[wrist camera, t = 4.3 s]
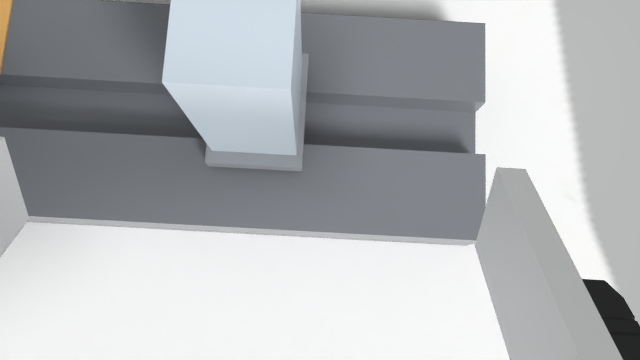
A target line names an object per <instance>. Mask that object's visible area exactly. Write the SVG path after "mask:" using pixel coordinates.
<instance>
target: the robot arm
mask: <svg viewBox="0 0 640 360" xmlns="http://www.w3.org/2000/svg"><path fill="white" fill-rule="evenodd" d="M28 219H29V216H28V213H27V210H26V206H25V203H24V200H23V197H22V193H21V190H20V187H19V184H18V180H17V177H16V174H15V170H14V167H13V164H12V161H11V157H10V154H9V151H8V148H7V144H6V141H5V138H4V137H0V257H1V256H2V254H3V253H4V252H5V250H6V249H7V248H8V246H9V245H10V244H11V242H12V241H13V240H14V238H15V237H16V236H17V234H18V233H19V232H20V230H21V229H22V228H23V226H24V225H25V224H26V222H27V221H28ZM475 248H476V251H477V254H478V257H479V261H480V264H481V267H482V270H483V274H484V277H485V280H486V283H487V287H488V290H489V293H490V296H491V299H492V303H493V306H494V309H495V312H496V316H497V319H498V322H499V325H500V329H501V332H502V335H503V338H504V341H505V345H506V348H507V351H508V354H509V358H510V360H640V326H639V324H638V322H637V321H635V320H634V318H635V317H634V315H633V314H632V312H631V310H630V308H629V307H628V305H627V303H626V302H625V300H624V298H623V297H622V296H621V295H620V294H619V293H618V292H617V291H615V290H614V289H613V288H612V287H611V286H610V285H609V284H608V283H607V282H606V281H604V280H588V279H581V277H580V275H579V273H578V271H577V269H576V267H575V265H574V263H573V261H572V259H571V257H570V255H569V253H568V251H567V249H566V248H565V246H564V244H563V242H562V240H561V238H560V236H559V234H558V232H557V230H556V228H555V226H554V224H553V222H552V220H551V218H550V216H549V214H548V212H547V210H546V208H545V207H544V205H543V203H542V201H541V199H540V197H539V195H538V193H537V191H536V189H535V187H534V185H533V183H532V181H531V179H530V177H529V175H528V173H527V171H526V169H514V168H498V167H497V169H496V172H495V176H494V179H493V183H492V186H491V190H490V194H489V197H488V201H487V204H486V208H485V211H484V215H483V218H482V222H481V226H480V229H479V233H478V236H477V240H476V243H475Z"/></svg>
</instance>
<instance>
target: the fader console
mask: <svg viewBox="0 0 640 360" xmlns="http://www.w3.org/2000/svg"><path fill="white" fill-rule="evenodd" d="M169 12H170V5H167V4H150V3H133V2H117V1H100V0H0V137H4V138H5V141H6V144H7V148H8V151H9V154H10V157H11V161H12V164H13V167H14V170H15V174H16V177H17V180H18V184H19V187H20V190H21V193H22V197H23V200H24V203H25V206H26V210H27V213H28V216H29V219H28V221H27V222H43V223H62V224H80V225H98V226H117V227H135V228H153V229H172V230H190V231H209V232H227V233H245V234H264V235H282V236H300V237H319V238H337V239H356V240H374V241H392V242H411V243H429V244H448V245H470V244H475V243H476V240H477V236H478V233H479V229H480V226H481V222H482V218H483V215H484V211H485V154H475V112H476V111H477V110H478V109H479V108H480V107H481V106H482V105H483V104H484V103H485V23H470V22H453V21H437V20H420V19H403V18H386V17H369V16H352V15H336V14H319V13H302V12H301V39H302V53H305V54H309V63H308V80H307V96H306V113H305V130H304V147H303V163H302V171H285V170H267V169H249V168H231V167H213V166H208V165H207V164H206V163H205V155H206V144H207V143H206V142H205V141H204V139H203V138H202V136H201V135H200V134H199V132H198V131H197V130H196V128H195V127H194V126H193V124H192V123H191V121H190V120H189V119H188V117H187V116H186V115H185V113H184V112H183V110H182V109H181V108H180V106H179V105H178V104H177V102H176V101H175V100H174V98H173V97H172V95H171V94H170V93H169V91H168V90H167V89H166V87H165V86H164V84H163V83H162V76H163V67H164V58H165V49H166V40H167V31H168V21H169Z"/></svg>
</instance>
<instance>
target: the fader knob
mask: <svg viewBox="0 0 640 360" xmlns="http://www.w3.org/2000/svg"><path fill="white" fill-rule="evenodd" d="M308 63H309V54H305V53H302V39H301V0H171V3H170V12H169V21H168V31H167V40H166V49H165V58H164V67H163V76H162V83H163V84H164V86H165V87H166V89H167V90H168V91H169V93H170V94H171V95H172V97H173V98H174V100H175V101H176V102H177V104H178V105H179V106H180V108H181V109H182V110H183V112H184V113H185V115H186V116H187V117H188V119H189V120H190V121H191V123H192V124H193V126H194V127H195V128H196V130H197V131H198V132H199V134H200V135H201V136H202V138H203V139H204V141H205V142H206V143H207V144H206V155H205V163H206V164H207V165H208V166H213V167H231V168H249V169H267V170H285V171H302V163H303V147H304V130H305V113H306V96H307V80H308Z"/></svg>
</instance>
